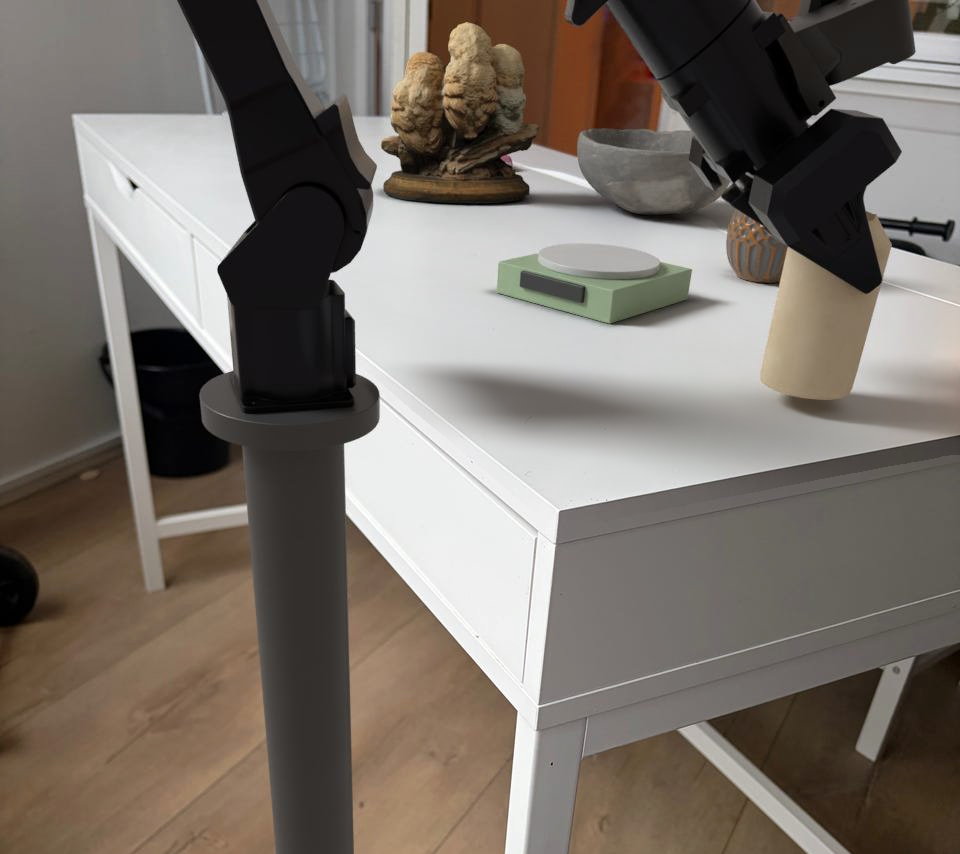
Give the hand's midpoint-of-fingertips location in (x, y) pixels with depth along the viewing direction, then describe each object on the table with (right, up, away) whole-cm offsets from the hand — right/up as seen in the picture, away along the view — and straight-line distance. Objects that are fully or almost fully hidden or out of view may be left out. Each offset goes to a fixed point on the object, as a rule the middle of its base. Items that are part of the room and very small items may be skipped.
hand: (855, 275), depth 57 cm
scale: (-13, +7, +23) cm, 27 cm away
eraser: (-22, +43, +78) cm, 92 cm away
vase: (+3, +11, +31) cm, 33 cm away
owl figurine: (-24, +30, +58) cm, 70 cm away
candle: (-2, -6, +4) cm, 7 cm away
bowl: (-2, +27, +55) cm, 61 cm away
